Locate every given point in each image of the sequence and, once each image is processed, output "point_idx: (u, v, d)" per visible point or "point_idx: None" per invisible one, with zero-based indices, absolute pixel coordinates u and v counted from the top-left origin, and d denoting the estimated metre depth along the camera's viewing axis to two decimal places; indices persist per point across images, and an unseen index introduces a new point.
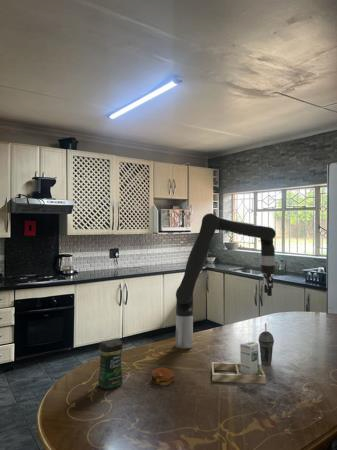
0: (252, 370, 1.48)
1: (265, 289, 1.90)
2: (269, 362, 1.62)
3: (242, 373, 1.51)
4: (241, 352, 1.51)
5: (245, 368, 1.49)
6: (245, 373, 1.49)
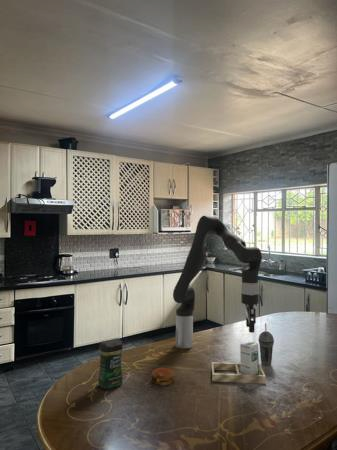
0: (252, 370, 1.48)
1: (247, 322, 1.56)
2: (269, 362, 1.62)
3: (242, 373, 1.51)
4: (241, 352, 1.51)
5: (245, 368, 1.49)
6: (245, 373, 1.49)
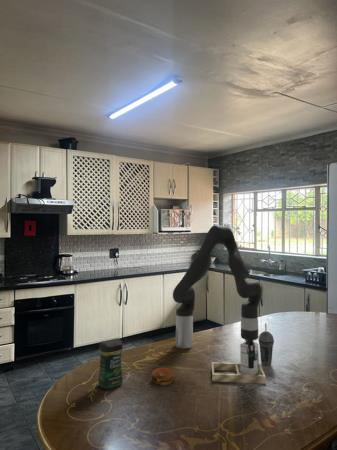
0: (252, 370, 1.48)
1: None
2: (269, 362, 1.62)
3: (242, 373, 1.51)
4: (241, 352, 1.51)
5: (245, 368, 1.49)
6: (245, 373, 1.49)
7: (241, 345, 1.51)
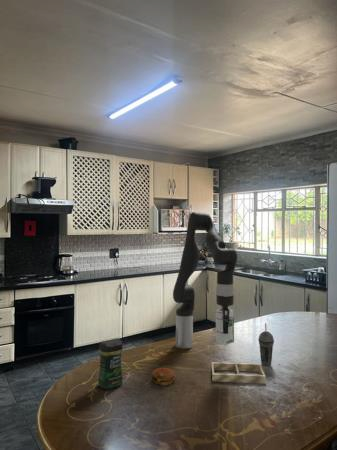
0: (227, 335, 1.49)
1: None
2: (269, 362, 1.62)
3: (217, 339, 1.52)
4: (216, 318, 1.52)
5: (220, 334, 1.51)
6: (220, 338, 1.51)
7: (216, 311, 1.52)
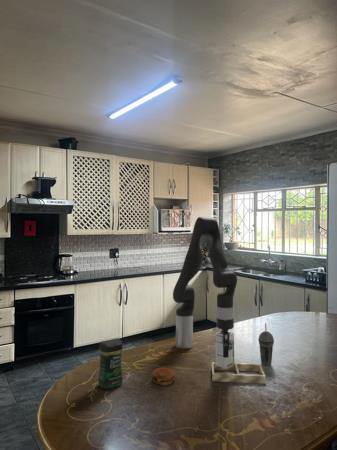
0: (227, 359, 1.49)
1: None
2: (269, 362, 1.62)
3: (217, 362, 1.52)
4: (217, 341, 1.52)
5: (220, 357, 1.51)
6: (221, 362, 1.50)
7: (217, 334, 1.52)
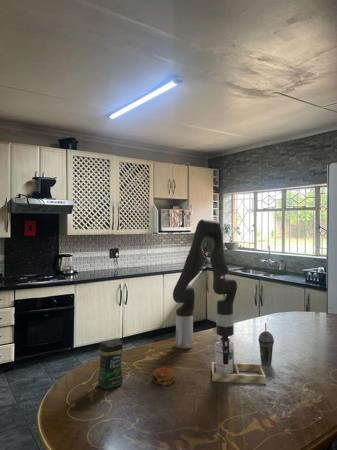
0: (227, 369, 1.49)
1: None
2: (269, 362, 1.62)
3: (217, 372, 1.52)
4: (216, 351, 1.52)
5: (220, 367, 1.51)
6: (220, 371, 1.51)
7: (216, 344, 1.52)
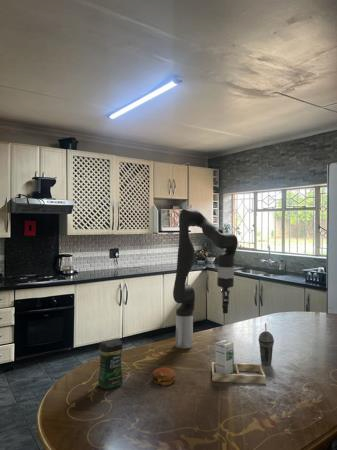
0: (227, 369, 1.49)
1: (223, 304, 1.66)
2: (269, 362, 1.62)
3: (217, 372, 1.52)
4: (216, 351, 1.52)
5: (220, 367, 1.51)
6: (220, 371, 1.51)
7: (216, 344, 1.52)
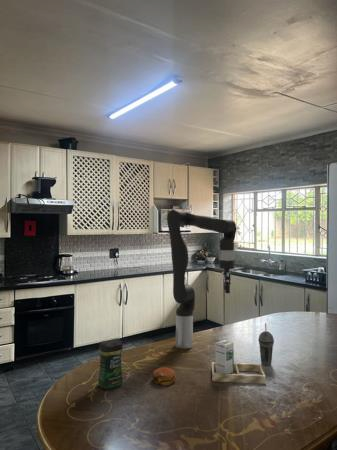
0: (227, 369, 1.49)
1: (225, 286, 1.77)
2: (269, 362, 1.62)
3: (217, 372, 1.52)
4: (216, 351, 1.52)
5: (220, 367, 1.51)
6: (220, 371, 1.51)
7: (216, 344, 1.52)
